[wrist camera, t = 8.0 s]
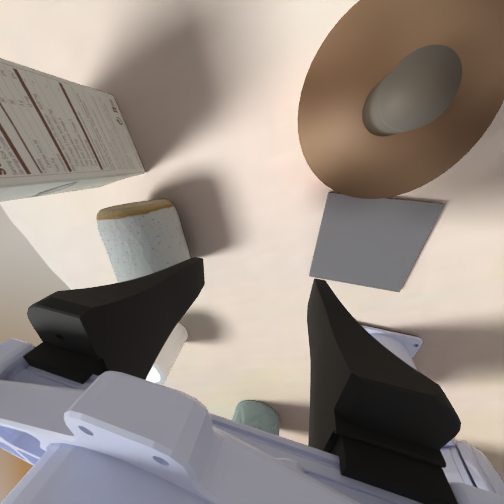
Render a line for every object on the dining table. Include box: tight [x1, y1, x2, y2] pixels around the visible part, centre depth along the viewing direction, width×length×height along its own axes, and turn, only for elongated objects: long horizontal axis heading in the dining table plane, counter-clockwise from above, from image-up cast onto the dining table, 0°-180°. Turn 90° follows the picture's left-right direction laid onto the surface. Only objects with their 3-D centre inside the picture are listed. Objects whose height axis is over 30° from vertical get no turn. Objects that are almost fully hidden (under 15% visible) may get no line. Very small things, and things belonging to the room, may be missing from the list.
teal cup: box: [232, 400, 279, 436], centre depth 32 cm, size 10×10×12 cm
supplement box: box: [0, 58, 145, 202], centre depth 15 cm, size 7×7×13 cm
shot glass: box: [146, 322, 188, 385], centre depth 29 cm, size 7×7×7 cm
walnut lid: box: [298, 0, 504, 199], centre depth 10 cm, size 10×10×4 cm
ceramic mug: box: [97, 199, 190, 283], centre depth 21 cm, size 11×8×8 cm
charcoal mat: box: [309, 192, 445, 292], centre depth 19 cm, size 9×9×1 cm
